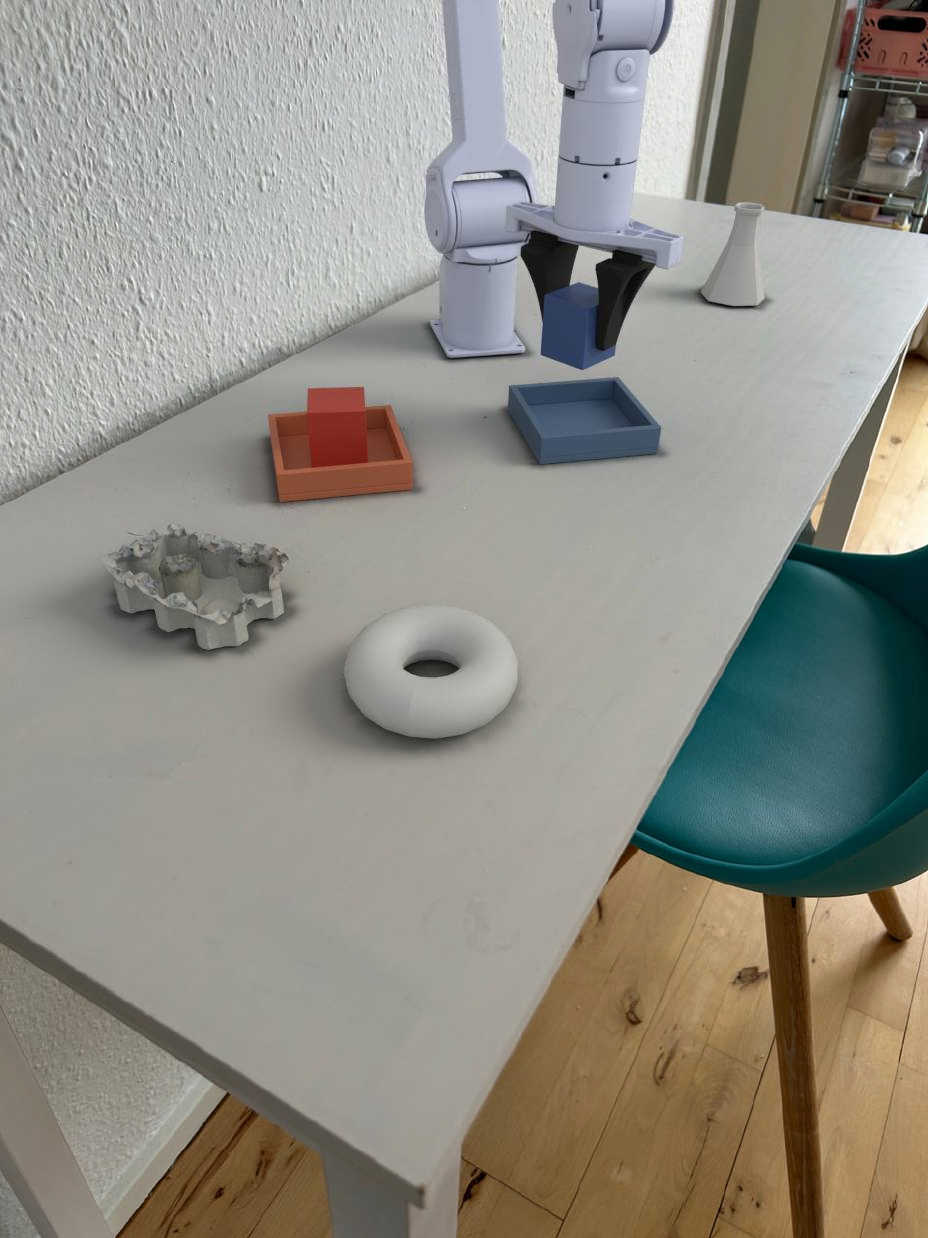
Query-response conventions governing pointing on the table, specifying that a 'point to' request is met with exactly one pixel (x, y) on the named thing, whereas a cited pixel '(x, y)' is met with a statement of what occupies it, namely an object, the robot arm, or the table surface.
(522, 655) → the table surface
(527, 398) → the blue tray
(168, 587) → the egg carton
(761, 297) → the flask
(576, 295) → the blue block
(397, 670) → the donut
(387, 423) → the orange tray
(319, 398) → the red block
